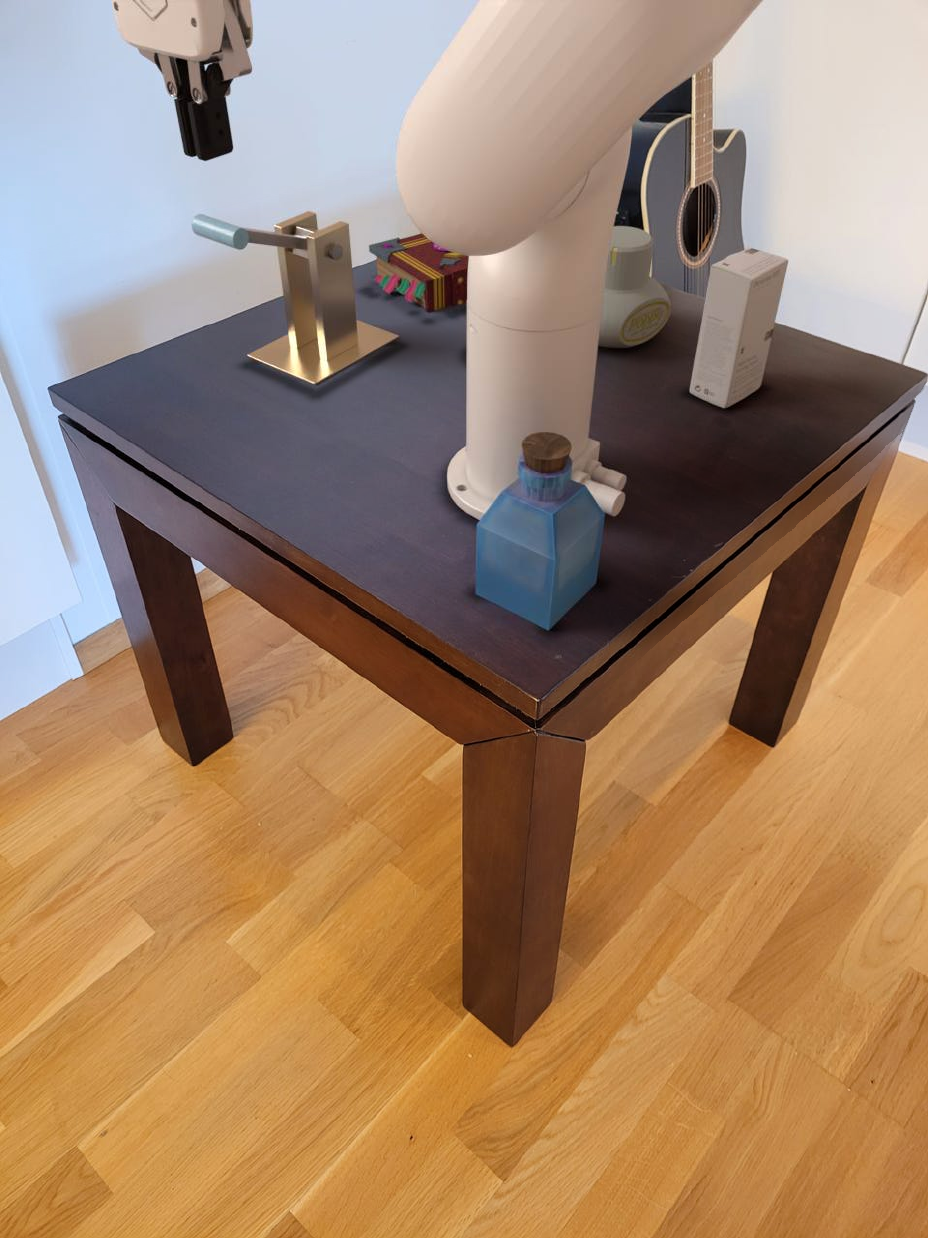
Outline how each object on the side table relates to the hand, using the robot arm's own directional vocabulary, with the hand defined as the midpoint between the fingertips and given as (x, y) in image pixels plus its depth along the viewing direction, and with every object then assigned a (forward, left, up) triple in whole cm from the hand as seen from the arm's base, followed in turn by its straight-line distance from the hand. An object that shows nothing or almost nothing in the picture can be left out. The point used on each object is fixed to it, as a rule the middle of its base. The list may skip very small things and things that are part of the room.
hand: (209, 152), depth 73 cm
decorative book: (0, -30, -21) cm, 37 cm away
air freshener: (-20, -31, -21) cm, 43 cm away
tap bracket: (0, -10, -21) cm, 23 cm away
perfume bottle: (-36, +6, -21) cm, 42 cm away
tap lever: (0, -5, -9) cm, 10 cm away
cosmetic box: (-34, -28, -21) cm, 49 cm away
